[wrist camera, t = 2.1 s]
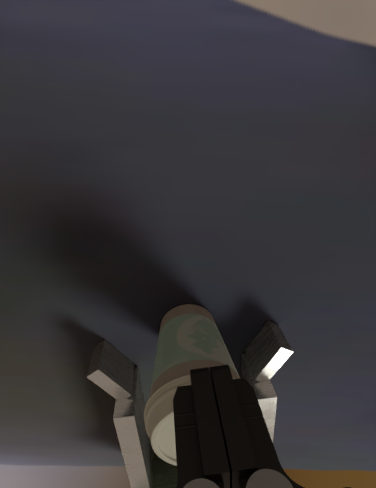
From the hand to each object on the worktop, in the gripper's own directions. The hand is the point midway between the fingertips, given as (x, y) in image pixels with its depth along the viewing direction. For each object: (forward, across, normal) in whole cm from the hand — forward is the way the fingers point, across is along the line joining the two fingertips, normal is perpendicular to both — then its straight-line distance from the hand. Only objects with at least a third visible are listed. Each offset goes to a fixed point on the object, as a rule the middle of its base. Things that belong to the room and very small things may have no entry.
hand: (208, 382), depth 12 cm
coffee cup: (+18, 0, +12) cm, 21 cm away
